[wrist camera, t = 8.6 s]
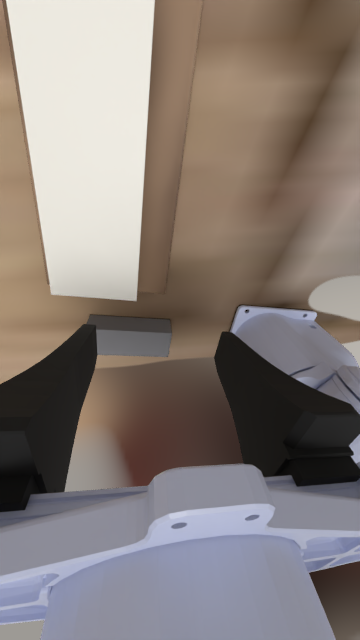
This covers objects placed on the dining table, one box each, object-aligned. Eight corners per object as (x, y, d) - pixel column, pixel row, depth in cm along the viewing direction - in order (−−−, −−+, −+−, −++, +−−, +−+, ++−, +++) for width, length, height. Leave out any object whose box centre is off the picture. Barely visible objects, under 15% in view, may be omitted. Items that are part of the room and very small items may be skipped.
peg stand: (200, -3, 13) (228, -94, 8) (164, 288, 22) (168, 316, 18) (1, -70, 11) (-93, -231, 7) (52, 278, 20) (27, 307, 16)
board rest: (169, 319, 24) (171, 333, 22) (166, 342, 26) (168, 356, 24) (90, 314, 23) (84, 328, 20) (91, 338, 24) (86, 354, 22)
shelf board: (137, 288, 16) (136, 301, 14) (61, 281, 15) (51, 294, 14) (157, -37, 9) (159, -86, 7) (16, -87, 8) (-18, -156, 6)
